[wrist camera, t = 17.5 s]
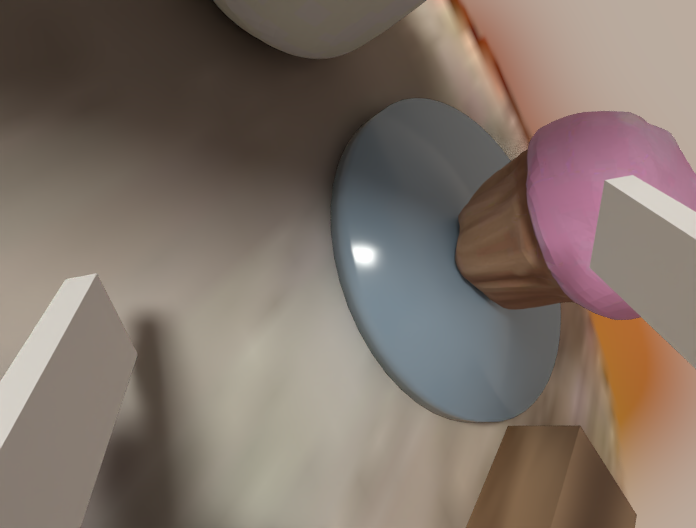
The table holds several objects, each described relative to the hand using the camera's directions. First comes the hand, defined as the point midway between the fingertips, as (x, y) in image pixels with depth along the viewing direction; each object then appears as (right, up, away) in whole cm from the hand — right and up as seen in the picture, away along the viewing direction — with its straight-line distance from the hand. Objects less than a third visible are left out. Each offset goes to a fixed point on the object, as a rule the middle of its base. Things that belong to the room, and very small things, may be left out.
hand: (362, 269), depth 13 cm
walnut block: (+8, -12, +11) cm, 18 cm away
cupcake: (+6, +1, +12) cm, 14 cm away
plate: (+5, +1, +13) cm, 14 cm away
